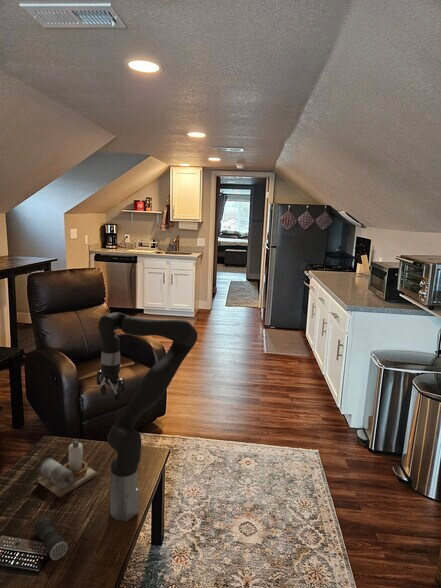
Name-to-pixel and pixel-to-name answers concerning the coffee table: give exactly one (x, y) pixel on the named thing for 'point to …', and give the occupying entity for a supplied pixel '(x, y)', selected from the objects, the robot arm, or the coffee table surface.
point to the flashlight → (50, 538)
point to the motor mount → (63, 476)
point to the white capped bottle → (75, 456)
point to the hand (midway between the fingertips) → (110, 398)
